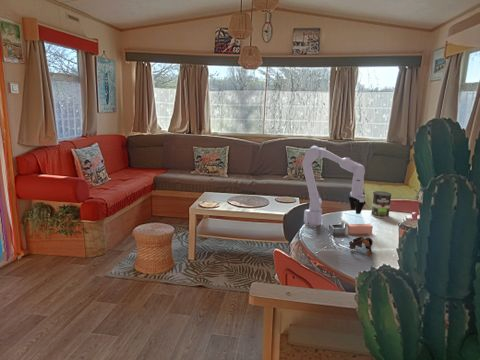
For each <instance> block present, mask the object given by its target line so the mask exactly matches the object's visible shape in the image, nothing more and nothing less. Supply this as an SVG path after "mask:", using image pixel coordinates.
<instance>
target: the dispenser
mask: <svg viewBox="0 0 480 360" xmlns="http://www.w3.org/2000/svg"><path fill="white" fill-rule="evenodd" d="M348 224H349V223H348V222H347V221H346V220H345V219H344V218H341V220H340V223H328V228H327V231H328V232H329V233H330V234H331V235H332V236H333V237H370V234H349V233H348Z"/></svg>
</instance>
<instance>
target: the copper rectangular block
mask: <svg viewBox="0 0 480 360" xmlns="http://www.w3.org/2000/svg"><path fill="white" fill-rule="evenodd" d="M348 233H349V234H369V235H370V234H371V235H372V234H373V225H372V224H371V223H348Z"/></svg>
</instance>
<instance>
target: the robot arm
mask: <svg viewBox="0 0 480 360" xmlns="http://www.w3.org/2000/svg"><path fill="white" fill-rule="evenodd" d="M318 158H320V159H323V158H326V159H328V160H330V161H332V162H334V163H336V164H339V167H340V168H342V169H343V170H345V171H348V172H350V173H352V174H353V176H352V180H351V181H352V182H351V191H350V192H349V196H347V198H348V201H349V207H350V210H355V214H356V215H360V214H361V213H362V210H363V208H364V206H365V204H366V201H365V198H364V197H366V195H365V194H363V192H364V184H365V183H364V182H365V179H364V178H365V175H366V169H365V166H364V165H363V164H361V163H359V162H356V161H354V160H352V159H351V157H340V156H338V155H337V154H334V153H333V152H331V151H329V150H327V149H325V148H323V147H319V146H318V145H312V146H310V147H309V149H308V150H307V151H306V152H305V154H304V157H303V160H302V162H301V164H302V169H303V174H304V176H305V177H304V178H305V181H306V186H307V190H308V196H309V207H308V209H304V211H303V212H304V213H303V223H304V224H305V225H306V226H321V225H322V219H323V217H322V216H323V215H322V214H323V208H322V204H323V200H322V198H321V196H320V193H319V191H318V187H317V183H316V178H315V174H314V169H313V167H312V164H313V163H314V161H315V160H317V159H318Z"/></svg>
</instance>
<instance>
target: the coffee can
mask: <svg viewBox="0 0 480 360" xmlns="http://www.w3.org/2000/svg"><path fill="white" fill-rule="evenodd" d="M391 199H392V193H390V192H388V191H378V190H377V191H373V193H372V204H371V213H370V215H371V216H372V217H375V218H378V219H379V218H380V219H388V218H389V216H390V209H391V208H390V207H391V202H392V201H391Z"/></svg>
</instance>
